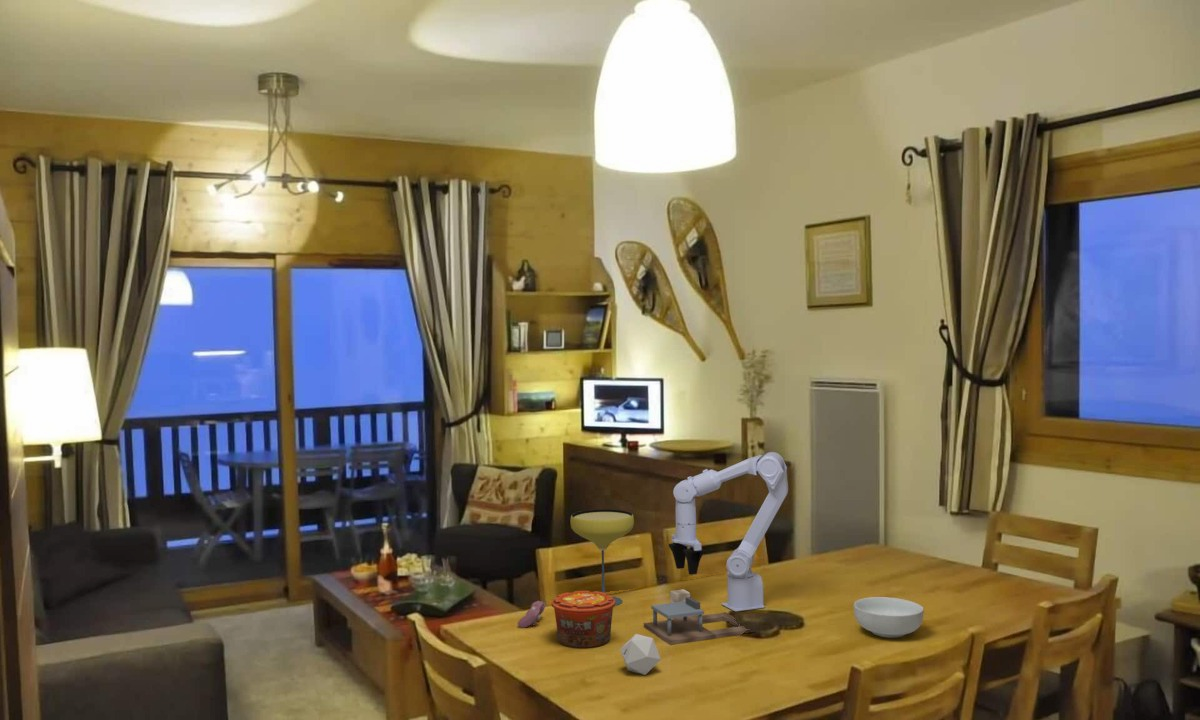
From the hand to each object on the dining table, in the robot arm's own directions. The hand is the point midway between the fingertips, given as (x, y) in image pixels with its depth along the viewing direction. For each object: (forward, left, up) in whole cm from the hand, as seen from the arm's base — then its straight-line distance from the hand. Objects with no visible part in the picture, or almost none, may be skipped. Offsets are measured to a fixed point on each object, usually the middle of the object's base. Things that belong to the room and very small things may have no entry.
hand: (686, 571), depth 276 cm
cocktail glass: (+21, -11, -9) cm, 25 cm away
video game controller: (+45, 0, -10) cm, 46 cm away
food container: (+38, +19, -9) cm, 44 cm away
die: (+34, +45, -9) cm, 57 cm away
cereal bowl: (-34, +45, -9) cm, 57 cm away
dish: (+6, +8, -9) cm, 14 cm away
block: (+6, +8, -8) cm, 13 cm away
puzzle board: (+8, +23, -9) cm, 26 cm away
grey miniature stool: (+14, +23, -8) cm, 28 cm away
